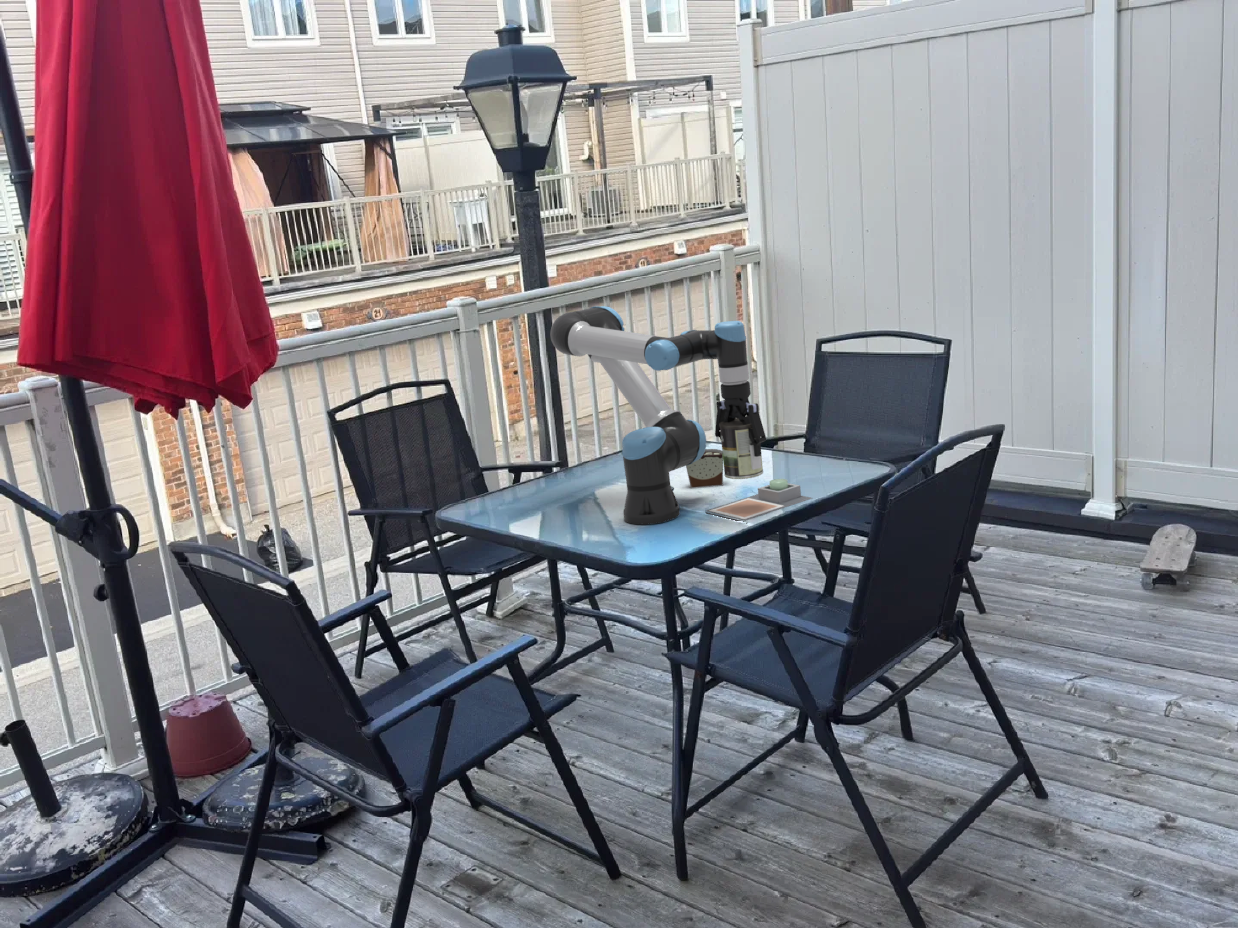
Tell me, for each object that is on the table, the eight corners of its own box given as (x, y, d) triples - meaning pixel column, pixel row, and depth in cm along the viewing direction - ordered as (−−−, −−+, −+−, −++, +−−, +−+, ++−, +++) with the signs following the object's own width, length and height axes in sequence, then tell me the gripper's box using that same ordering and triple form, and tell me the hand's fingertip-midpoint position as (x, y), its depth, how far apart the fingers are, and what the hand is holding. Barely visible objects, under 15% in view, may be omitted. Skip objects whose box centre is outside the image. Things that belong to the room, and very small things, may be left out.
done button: (779, 496, 289) (778, 484, 289) (766, 494, 293) (765, 482, 292) (792, 492, 292) (791, 480, 291) (779, 490, 296) (778, 477, 295)
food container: (728, 479, 321) (724, 446, 319) (728, 485, 315) (724, 451, 313) (686, 483, 323) (683, 450, 320) (685, 488, 317) (682, 455, 314)
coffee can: (720, 479, 281) (714, 426, 278) (729, 469, 291) (724, 418, 288) (759, 478, 278) (754, 424, 275) (767, 468, 287) (762, 416, 284)
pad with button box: (745, 523, 276) (744, 509, 275) (705, 513, 289) (704, 499, 288) (813, 500, 289) (812, 487, 288) (771, 492, 302) (770, 479, 301)
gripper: (775, 381, 272) (783, 467, 277) (717, 377, 290) (725, 457, 295) (753, 387, 268) (761, 474, 272) (695, 382, 286) (704, 464, 291)
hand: (742, 465), depth 284 cm, fingers closed on coffee can, 10 cm apart
